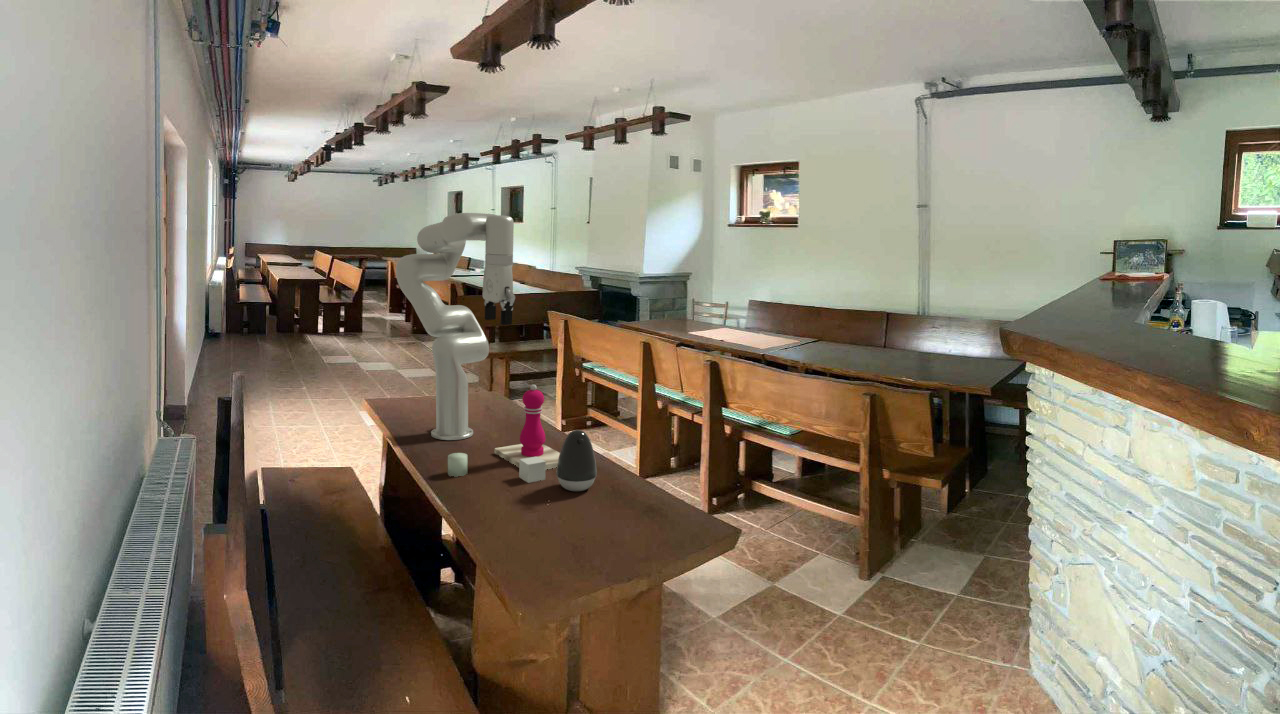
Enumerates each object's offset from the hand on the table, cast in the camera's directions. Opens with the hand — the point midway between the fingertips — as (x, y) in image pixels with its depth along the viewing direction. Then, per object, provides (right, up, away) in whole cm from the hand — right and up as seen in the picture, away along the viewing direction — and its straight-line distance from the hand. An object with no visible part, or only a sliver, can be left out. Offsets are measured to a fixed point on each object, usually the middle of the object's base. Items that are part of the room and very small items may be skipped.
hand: (498, 322), depth 207 cm
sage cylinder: (-8, -41, -13) cm, 43 cm away
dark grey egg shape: (+24, -43, -20) cm, 53 cm away
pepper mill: (+9, -37, +2) cm, 39 cm away
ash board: (+10, -39, +2) cm, 40 cm away
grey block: (+12, -42, -14) cm, 45 cm away
